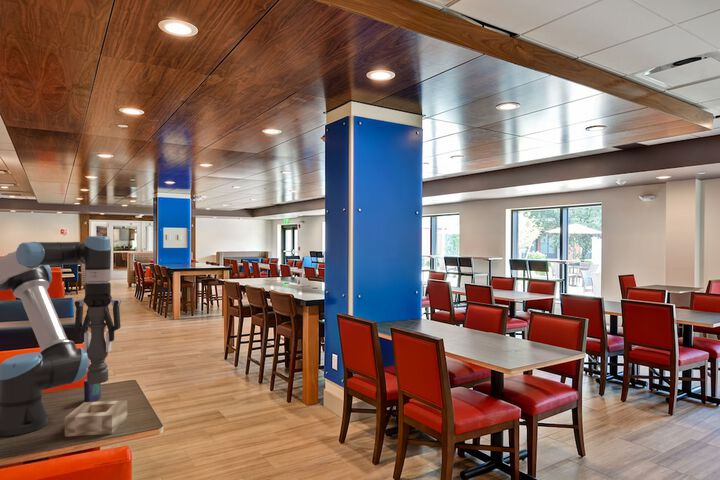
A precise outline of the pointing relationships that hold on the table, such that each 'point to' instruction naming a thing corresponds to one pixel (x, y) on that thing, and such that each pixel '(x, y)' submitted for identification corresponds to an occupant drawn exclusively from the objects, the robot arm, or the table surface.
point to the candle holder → (97, 347)
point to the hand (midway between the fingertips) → (97, 351)
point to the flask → (92, 392)
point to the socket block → (96, 418)
